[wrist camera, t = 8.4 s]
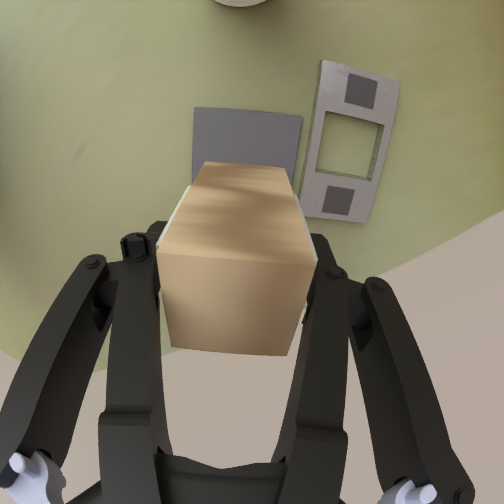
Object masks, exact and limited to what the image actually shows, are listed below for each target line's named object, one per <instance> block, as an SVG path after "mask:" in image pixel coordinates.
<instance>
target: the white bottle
mask: <svg viewBox="0 0 504 504" xmlns="http://www.w3.org/2000/svg"><path fill="white" fill-rule="evenodd" d="M215 1H217V2H219V3H221V4H224V5H228V6H235V7H245V6H252V5H256V4H259V3H261V2H264V1H265V0H215Z"/></svg>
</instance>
